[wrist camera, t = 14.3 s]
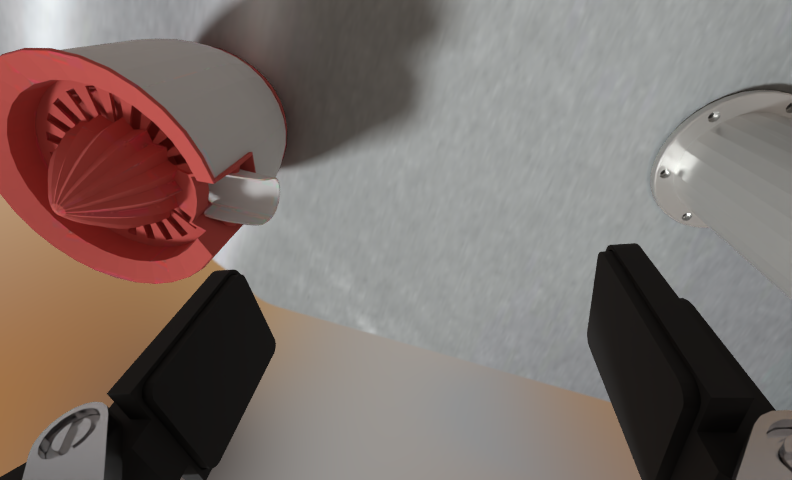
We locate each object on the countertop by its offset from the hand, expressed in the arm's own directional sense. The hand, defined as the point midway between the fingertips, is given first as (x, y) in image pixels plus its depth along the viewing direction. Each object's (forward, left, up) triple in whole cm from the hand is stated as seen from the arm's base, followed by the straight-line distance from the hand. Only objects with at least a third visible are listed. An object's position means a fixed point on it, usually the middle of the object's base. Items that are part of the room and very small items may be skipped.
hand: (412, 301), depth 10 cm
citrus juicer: (+20, 0, -28) cm, 35 cm away
